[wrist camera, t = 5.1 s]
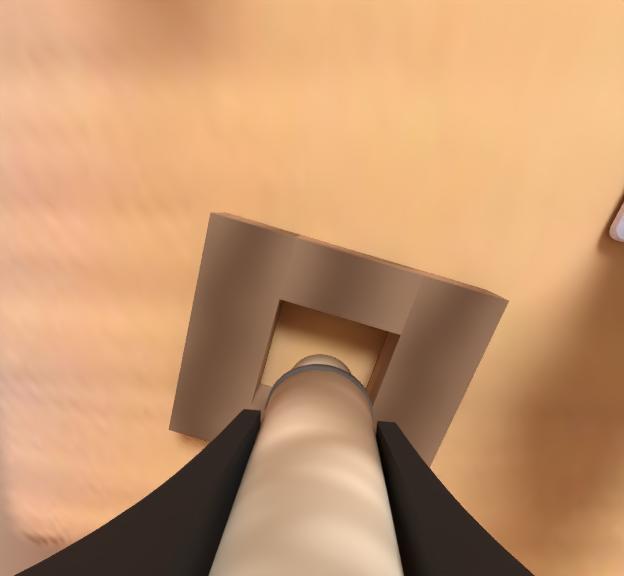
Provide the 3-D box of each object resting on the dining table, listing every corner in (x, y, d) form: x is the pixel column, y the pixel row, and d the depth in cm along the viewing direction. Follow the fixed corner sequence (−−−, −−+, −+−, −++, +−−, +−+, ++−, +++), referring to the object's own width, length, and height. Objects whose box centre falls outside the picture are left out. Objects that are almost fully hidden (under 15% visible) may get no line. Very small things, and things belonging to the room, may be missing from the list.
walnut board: (486, 290, 15) (508, 300, 13) (404, 471, 18) (413, 501, 16) (226, 213, 15) (210, 212, 13) (186, 406, 18) (168, 429, 16)
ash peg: (369, 344, 13) (447, 604, 4) (363, 427, 14) (415, 776, 5) (275, 339, 13) (166, 576, 4) (275, 420, 14) (185, 745, 5)
